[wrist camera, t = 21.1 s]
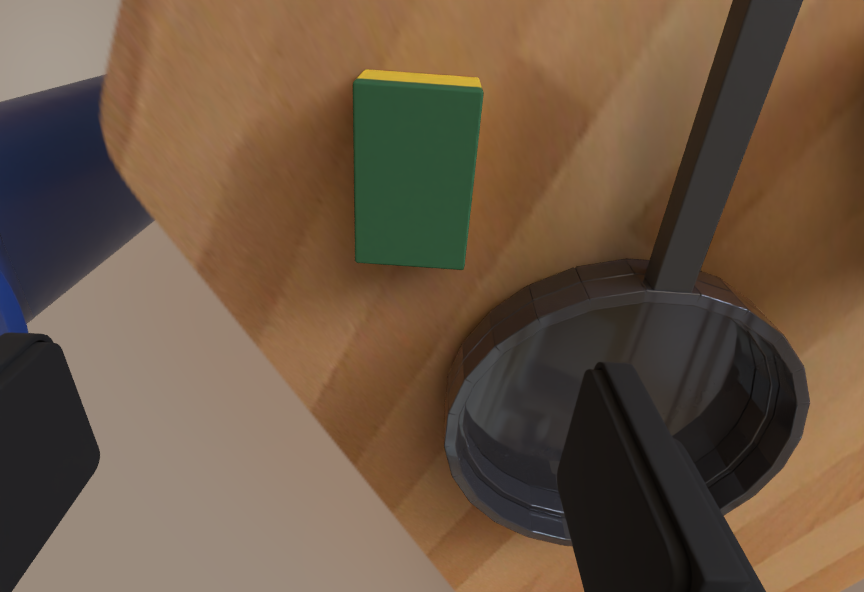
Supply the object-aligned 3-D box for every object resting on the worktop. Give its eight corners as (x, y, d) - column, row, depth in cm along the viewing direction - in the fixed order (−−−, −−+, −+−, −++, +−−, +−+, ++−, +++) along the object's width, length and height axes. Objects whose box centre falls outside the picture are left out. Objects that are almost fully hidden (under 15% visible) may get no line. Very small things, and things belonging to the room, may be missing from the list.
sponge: (364, 233, 24) (354, 263, 21) (364, 68, 20) (352, 81, 18) (462, 240, 24) (464, 270, 21) (479, 77, 20) (484, 90, 18)
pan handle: (642, 279, 22) (652, 294, 21) (738, -21, 16) (757, -21, 15) (679, 282, 22) (690, 296, 21) (787, -17, 16) (810, -17, 15)
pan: (434, 487, 33) (433, 537, 30) (460, 240, 24) (462, 277, 21) (703, 504, 33) (729, 556, 30) (828, 266, 24) (882, 307, 21)
